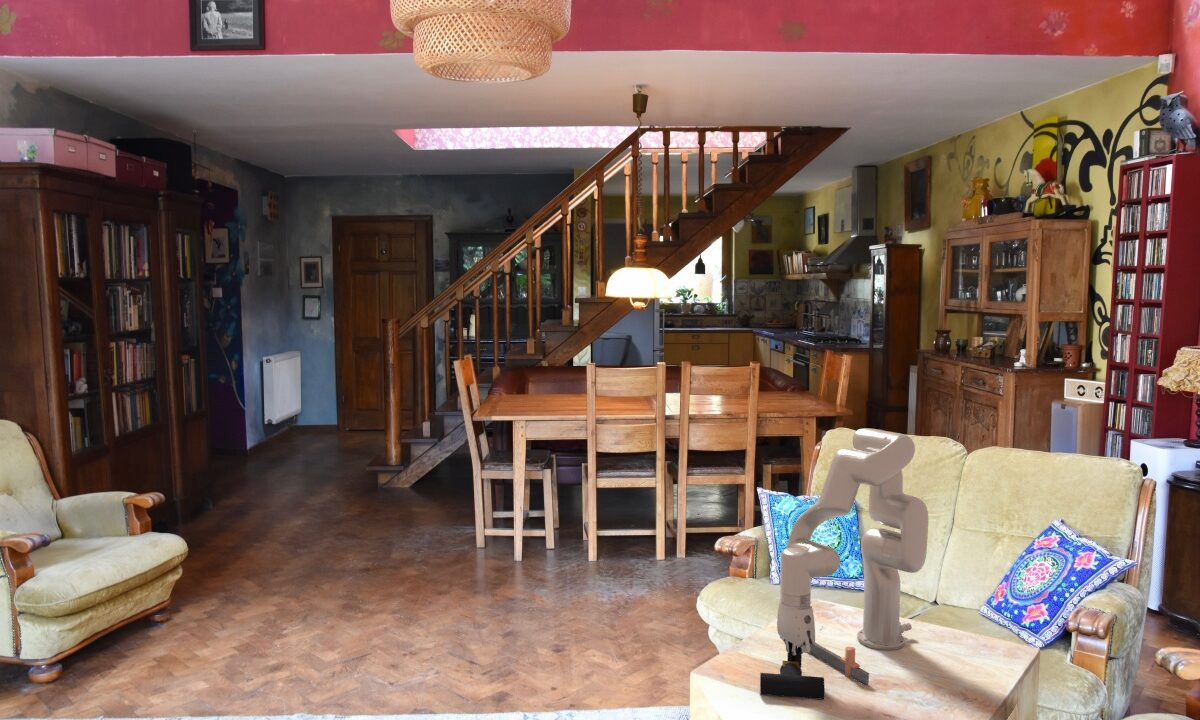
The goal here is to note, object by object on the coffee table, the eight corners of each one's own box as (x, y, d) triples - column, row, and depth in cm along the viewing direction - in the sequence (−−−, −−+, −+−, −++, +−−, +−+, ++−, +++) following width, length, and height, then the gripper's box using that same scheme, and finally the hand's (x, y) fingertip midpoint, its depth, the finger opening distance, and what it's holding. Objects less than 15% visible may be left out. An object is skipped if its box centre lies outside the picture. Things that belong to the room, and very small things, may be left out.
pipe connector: (760, 656, 216) (821, 660, 213) (760, 676, 217) (821, 680, 214) (760, 678, 205) (824, 682, 202) (760, 699, 205) (824, 704, 203)
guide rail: (807, 647, 233) (807, 622, 232) (870, 684, 211) (871, 656, 211) (800, 648, 232) (800, 624, 231) (863, 686, 210) (863, 658, 210)
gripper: (826, 605, 210) (825, 676, 212) (788, 586, 224) (787, 653, 225) (802, 610, 207) (801, 683, 209) (765, 590, 220) (764, 659, 222)
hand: (794, 667), depth 217 cm, fingers closed
